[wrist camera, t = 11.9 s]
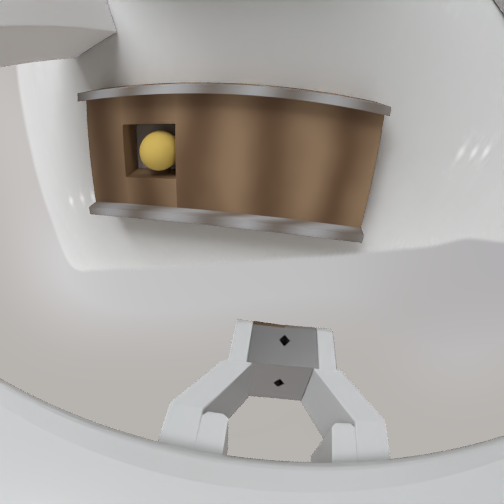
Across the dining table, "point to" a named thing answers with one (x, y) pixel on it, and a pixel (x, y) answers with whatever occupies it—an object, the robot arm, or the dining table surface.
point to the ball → (158, 150)
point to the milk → (51, 29)
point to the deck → (238, 156)
